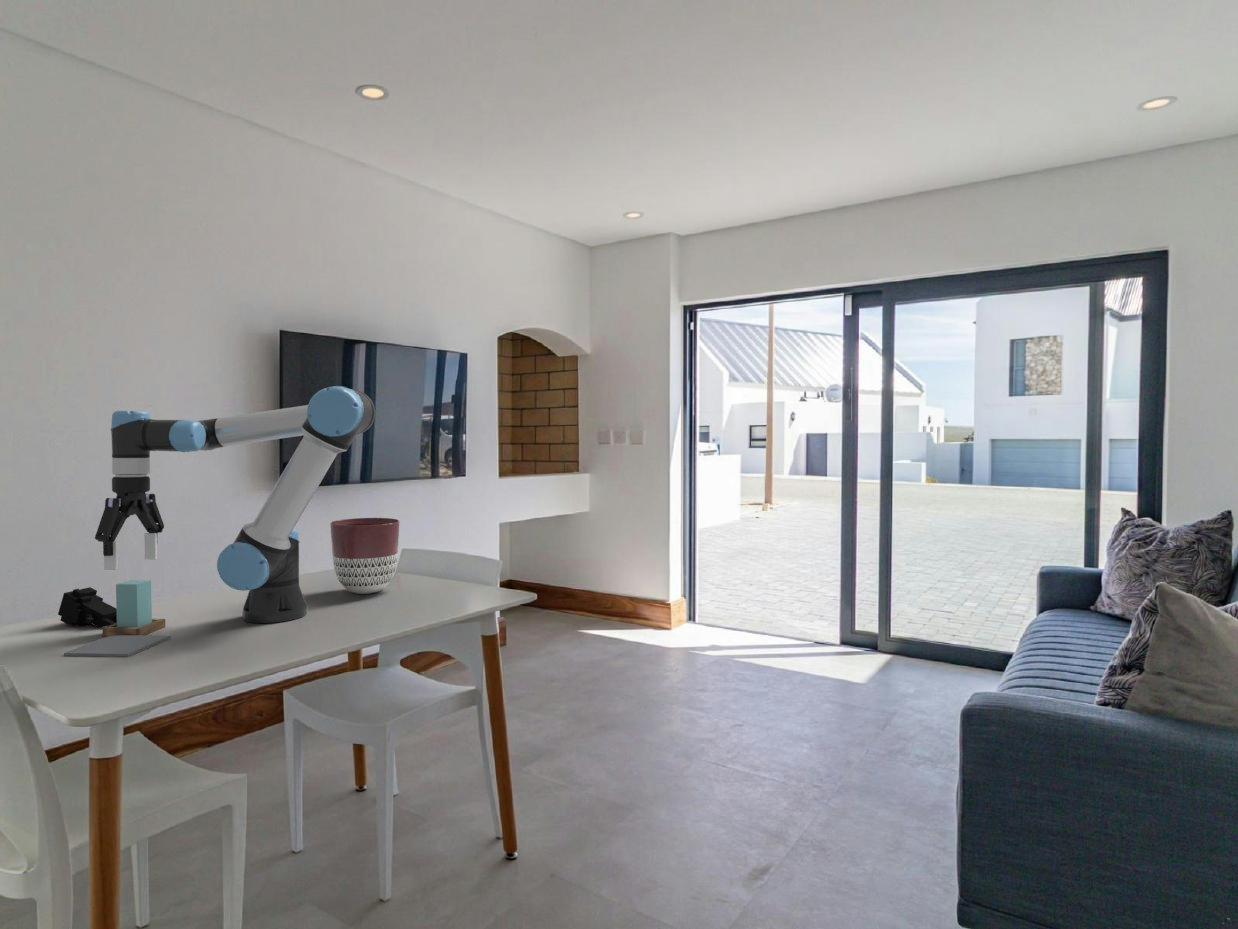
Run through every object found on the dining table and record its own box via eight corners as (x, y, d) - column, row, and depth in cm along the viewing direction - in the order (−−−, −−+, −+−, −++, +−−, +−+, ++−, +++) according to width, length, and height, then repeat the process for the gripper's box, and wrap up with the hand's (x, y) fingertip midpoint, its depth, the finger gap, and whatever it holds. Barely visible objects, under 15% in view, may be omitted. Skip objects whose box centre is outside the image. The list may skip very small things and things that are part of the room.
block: (152, 629, 175) (151, 580, 175) (137, 634, 170) (136, 584, 170) (131, 628, 176) (130, 579, 175) (117, 634, 171) (115, 584, 170)
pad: (170, 638, 168) (170, 635, 168) (128, 656, 154) (128, 654, 154) (111, 637, 168) (111, 634, 168) (63, 655, 154) (63, 653, 154)
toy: (109, 614, 173) (60, 589, 175) (100, 645, 174) (51, 619, 176) (142, 605, 182) (95, 582, 184) (133, 634, 183) (87, 610, 185)
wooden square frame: (165, 626, 177) (165, 618, 177) (140, 637, 168) (140, 628, 168) (129, 626, 178) (129, 618, 178) (102, 636, 169) (102, 628, 169)
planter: (317, 598, 209) (316, 524, 208) (353, 584, 228) (352, 517, 227) (380, 601, 206) (379, 526, 205) (410, 587, 225) (410, 518, 224)
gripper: (150, 472, 184) (151, 555, 185) (74, 478, 159) (76, 574, 160) (179, 473, 184) (180, 555, 185) (108, 479, 159) (109, 574, 160)
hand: (131, 564), depth 172 cm, fingers open, 13 cm apart
